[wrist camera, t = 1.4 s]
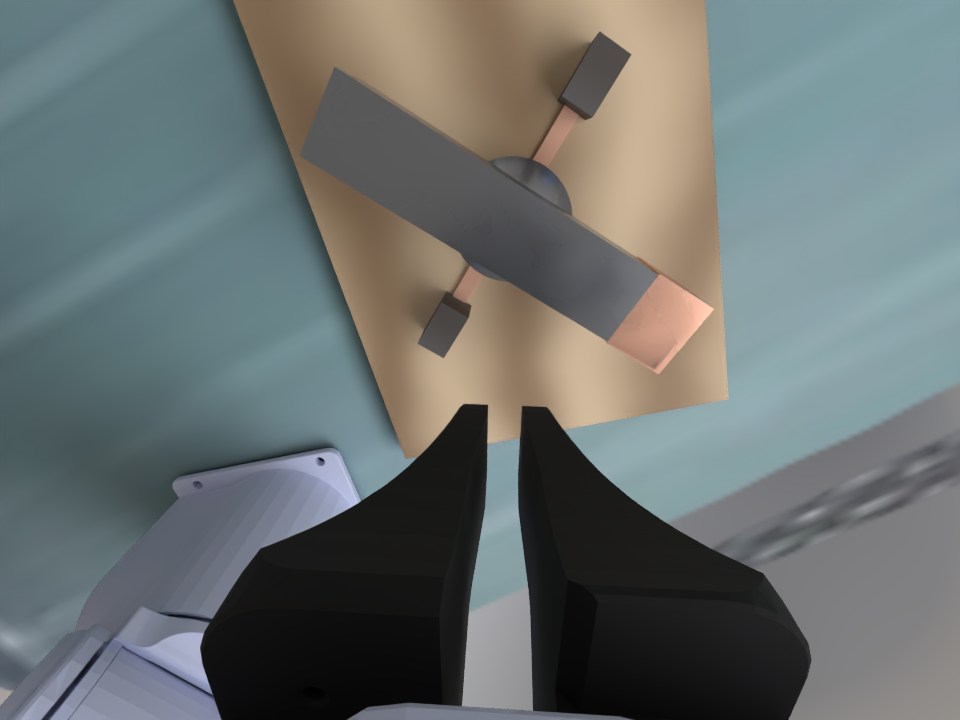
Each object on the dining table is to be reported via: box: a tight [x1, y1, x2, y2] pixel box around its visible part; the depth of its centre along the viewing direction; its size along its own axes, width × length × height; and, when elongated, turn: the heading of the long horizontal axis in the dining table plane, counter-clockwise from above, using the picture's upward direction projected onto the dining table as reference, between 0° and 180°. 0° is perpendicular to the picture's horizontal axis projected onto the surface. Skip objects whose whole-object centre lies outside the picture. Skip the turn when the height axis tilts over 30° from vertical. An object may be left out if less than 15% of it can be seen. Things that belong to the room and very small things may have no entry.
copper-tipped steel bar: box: [300, 67, 714, 374], centre depth 15 cm, size 12×4×4 cm, turn 59°
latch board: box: [233, 0, 728, 459], centre depth 18 cm, size 15×20×3 cm
